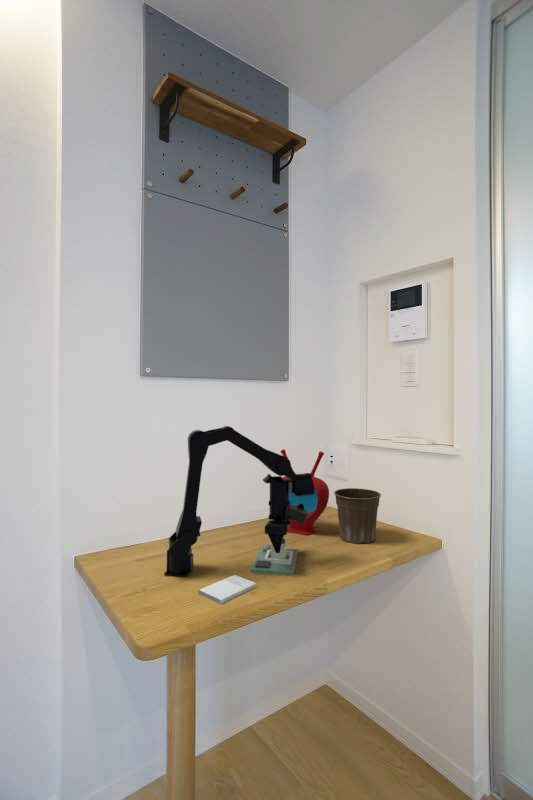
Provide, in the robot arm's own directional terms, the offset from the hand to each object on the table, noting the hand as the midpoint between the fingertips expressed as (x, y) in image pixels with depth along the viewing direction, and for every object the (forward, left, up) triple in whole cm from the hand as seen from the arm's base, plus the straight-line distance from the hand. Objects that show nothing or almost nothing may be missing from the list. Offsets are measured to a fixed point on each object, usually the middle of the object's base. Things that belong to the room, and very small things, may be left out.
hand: (278, 549), depth 123 cm
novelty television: (+5, +33, -4) cm, 34 cm away
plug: (0, 0, -3) cm, 3 cm away
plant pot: (+25, +26, -4) cm, 36 cm away
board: (-1, 0, -4) cm, 4 cm away
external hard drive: (-11, -20, -4) cm, 23 cm away
